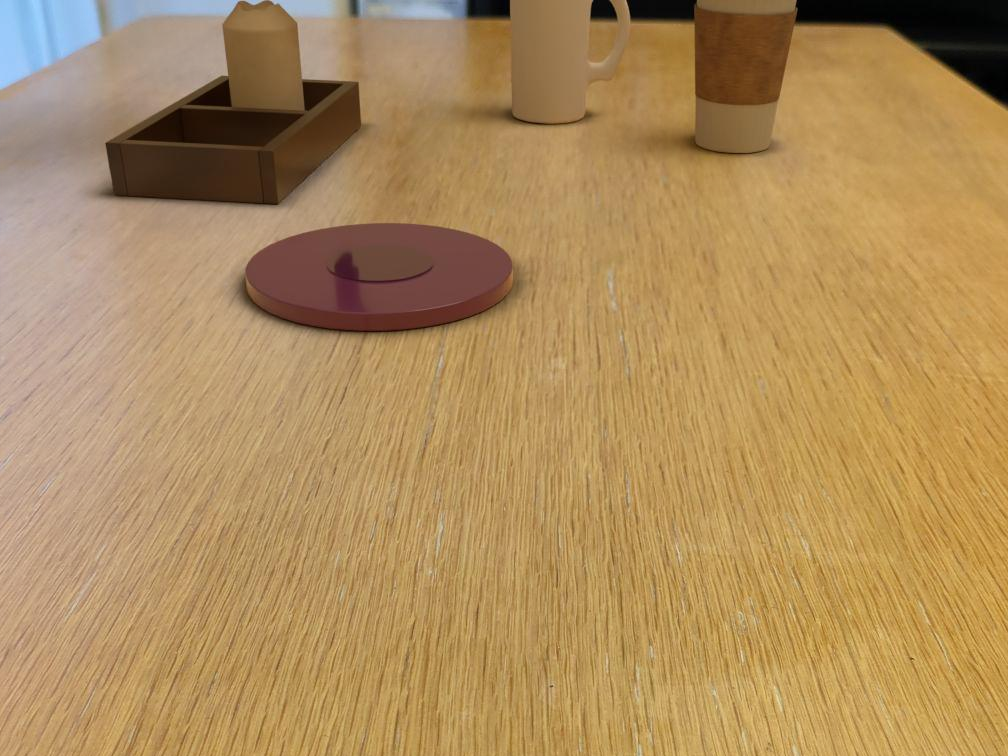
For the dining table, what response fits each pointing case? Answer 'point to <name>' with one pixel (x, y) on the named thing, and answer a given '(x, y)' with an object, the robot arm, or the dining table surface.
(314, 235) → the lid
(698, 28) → the coffee cup
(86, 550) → the dining table surface
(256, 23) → the candle
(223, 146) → the divided wooden tray
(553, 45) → the mug
